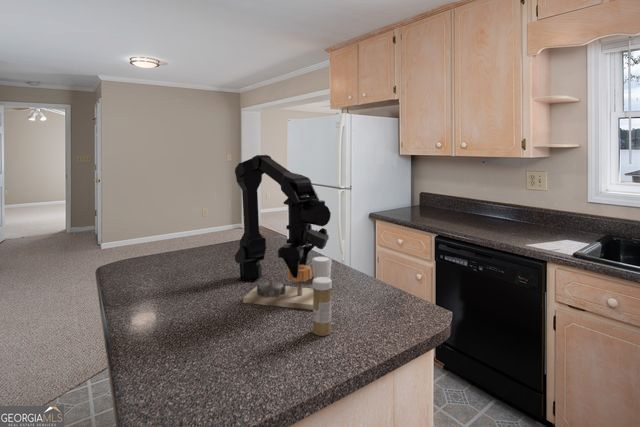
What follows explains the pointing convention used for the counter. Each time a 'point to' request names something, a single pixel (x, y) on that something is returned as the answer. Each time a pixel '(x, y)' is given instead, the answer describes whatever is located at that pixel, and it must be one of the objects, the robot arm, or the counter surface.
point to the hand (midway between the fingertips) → (299, 273)
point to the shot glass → (321, 266)
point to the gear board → (281, 295)
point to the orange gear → (301, 273)
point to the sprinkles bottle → (322, 306)
